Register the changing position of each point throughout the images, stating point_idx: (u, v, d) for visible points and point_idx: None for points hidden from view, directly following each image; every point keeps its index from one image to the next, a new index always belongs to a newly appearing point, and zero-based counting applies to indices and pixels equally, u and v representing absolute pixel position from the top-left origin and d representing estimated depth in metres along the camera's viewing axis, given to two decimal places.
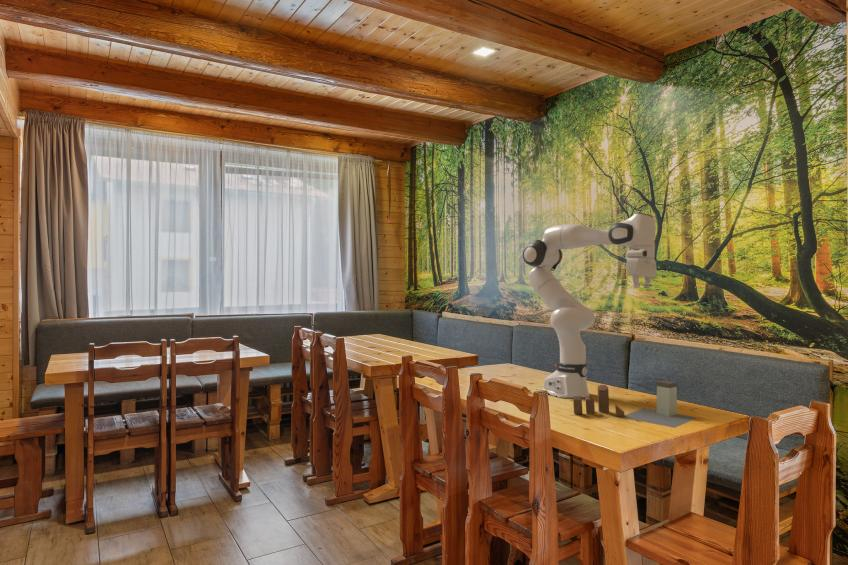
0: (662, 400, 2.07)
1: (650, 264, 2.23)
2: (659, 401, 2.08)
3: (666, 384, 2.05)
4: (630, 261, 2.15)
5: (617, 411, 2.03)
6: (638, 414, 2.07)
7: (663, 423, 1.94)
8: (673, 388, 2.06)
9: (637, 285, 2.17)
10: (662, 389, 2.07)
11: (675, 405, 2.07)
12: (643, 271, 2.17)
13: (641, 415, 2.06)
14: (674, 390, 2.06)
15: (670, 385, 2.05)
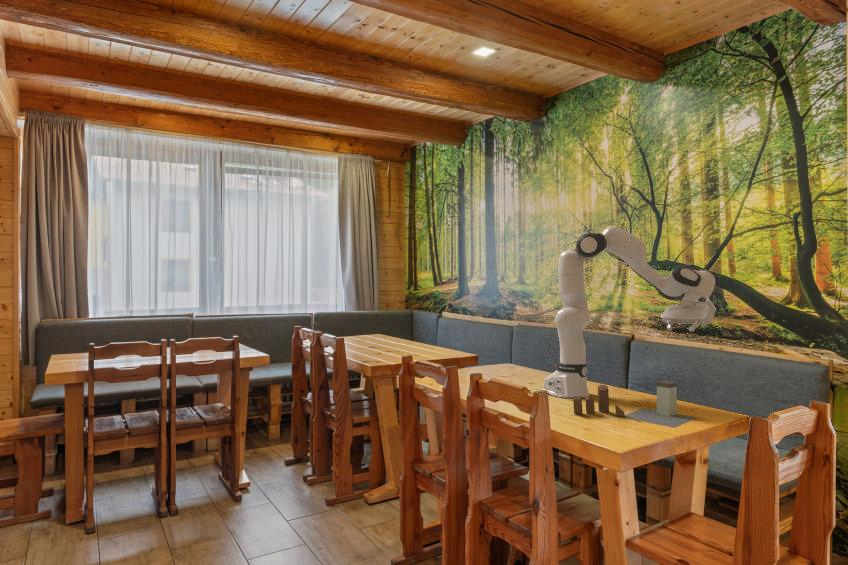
0: (662, 400, 2.07)
1: None
2: (659, 401, 2.08)
3: (666, 384, 2.05)
4: (711, 310, 2.16)
5: (617, 411, 2.03)
6: (638, 414, 2.07)
7: (663, 423, 1.94)
8: (673, 388, 2.06)
9: (693, 329, 2.17)
10: (662, 389, 2.07)
11: (675, 405, 2.07)
12: None
13: (641, 415, 2.06)
14: (674, 390, 2.06)
15: (670, 385, 2.05)
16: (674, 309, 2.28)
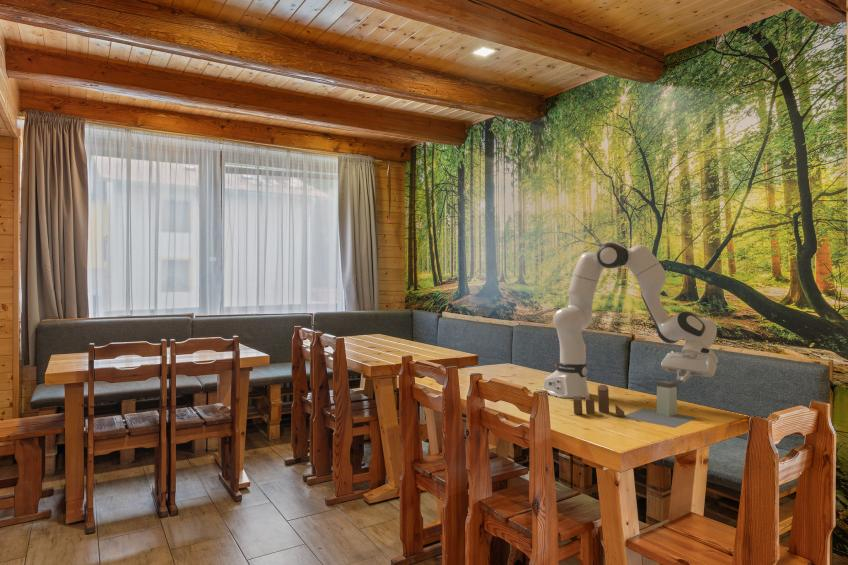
0: (662, 400, 2.07)
1: None
2: (659, 401, 2.08)
3: (666, 384, 2.05)
4: (714, 362, 2.09)
5: (617, 411, 2.03)
6: (638, 414, 2.07)
7: (663, 423, 1.94)
8: (673, 388, 2.06)
9: (685, 380, 2.12)
10: (662, 389, 2.07)
11: (675, 405, 2.07)
12: None
13: (641, 415, 2.06)
14: (674, 390, 2.06)
15: (670, 385, 2.05)
16: (674, 357, 2.21)
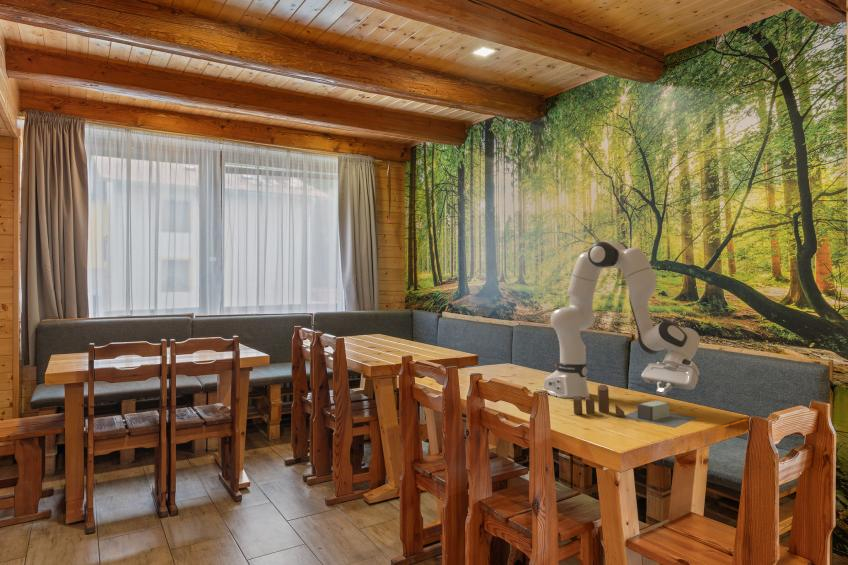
0: None
1: None
2: None
3: None
4: (695, 374, 2.02)
5: (617, 411, 2.03)
6: None
7: (663, 423, 1.94)
8: (653, 412, 1.99)
9: (665, 392, 2.05)
10: None
11: (663, 407, 2.02)
12: None
13: None
14: (654, 410, 1.99)
15: (651, 418, 1.98)
16: (655, 368, 2.13)
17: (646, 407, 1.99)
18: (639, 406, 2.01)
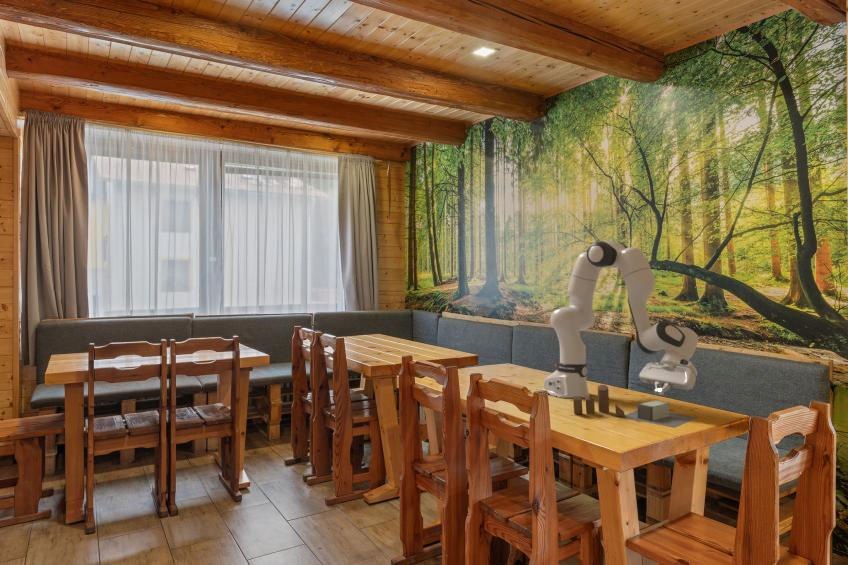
0: None
1: None
2: None
3: None
4: (693, 375, 2.01)
5: (617, 411, 2.03)
6: None
7: (663, 423, 1.94)
8: (653, 412, 1.99)
9: (663, 393, 2.04)
10: None
11: (663, 407, 2.02)
12: None
13: None
14: (654, 410, 1.99)
15: (651, 418, 1.98)
16: (653, 369, 2.12)
17: (646, 407, 1.99)
18: (639, 406, 2.01)
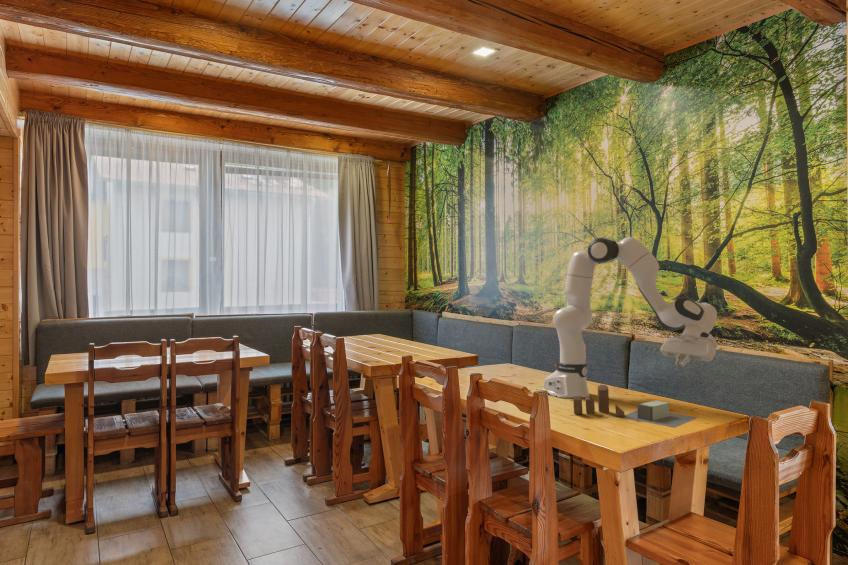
0: None
1: None
2: None
3: None
4: (713, 346, 2.08)
5: (617, 411, 2.03)
6: None
7: (663, 423, 1.94)
8: (653, 412, 1.99)
9: (684, 364, 2.12)
10: None
11: (663, 407, 2.02)
12: None
13: None
14: (654, 410, 1.99)
15: (651, 418, 1.98)
16: (674, 342, 2.20)
17: (646, 407, 1.99)
18: (639, 406, 2.01)
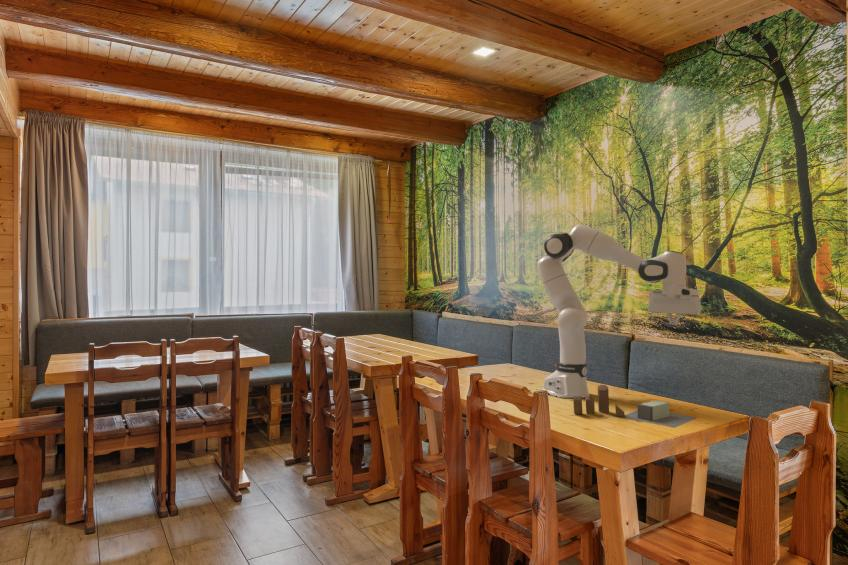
0: None
1: None
2: None
3: None
4: (697, 300, 2.18)
5: (617, 411, 2.03)
6: None
7: (663, 423, 1.94)
8: (653, 412, 1.99)
9: (677, 322, 2.25)
10: None
11: (663, 407, 2.02)
12: None
13: None
14: (654, 410, 1.99)
15: (651, 418, 1.98)
16: (658, 300, 2.29)
17: (646, 407, 1.99)
18: (639, 406, 2.01)
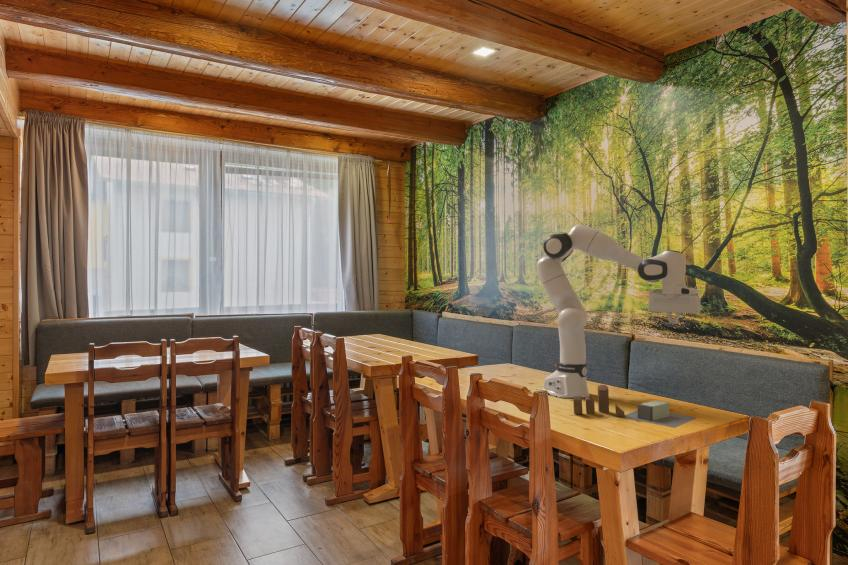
0: None
1: None
2: None
3: None
4: (697, 299, 2.18)
5: (617, 411, 2.03)
6: None
7: (663, 423, 1.94)
8: (653, 412, 1.99)
9: (677, 321, 2.25)
10: None
11: (663, 407, 2.02)
12: None
13: None
14: (654, 410, 1.99)
15: (651, 418, 1.98)
16: (658, 299, 2.29)
17: (646, 407, 1.99)
18: (639, 406, 2.01)
